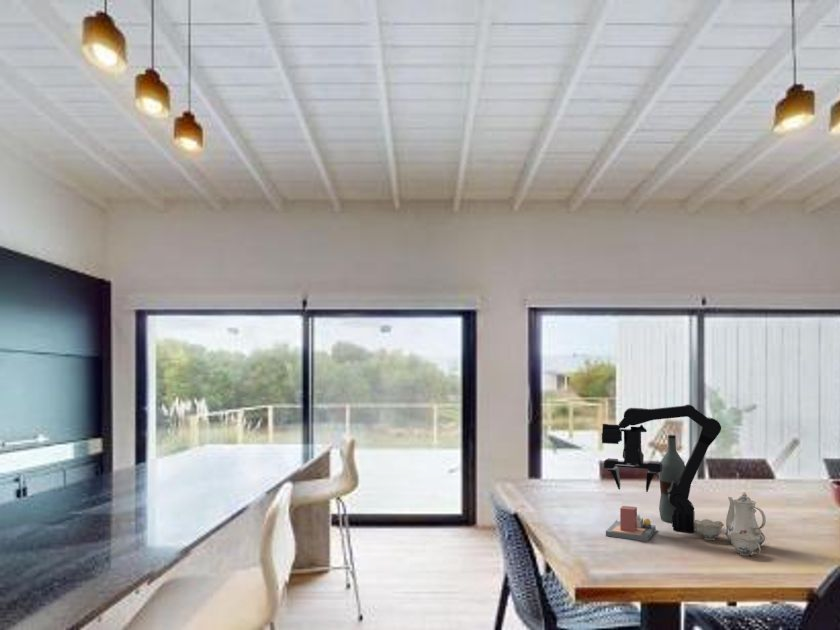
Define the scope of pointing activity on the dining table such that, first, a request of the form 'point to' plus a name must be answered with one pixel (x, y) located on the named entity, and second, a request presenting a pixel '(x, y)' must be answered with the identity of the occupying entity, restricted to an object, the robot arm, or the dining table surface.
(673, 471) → the bottle
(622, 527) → the red rectangular block
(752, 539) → the chinaware
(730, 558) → the dining table surface
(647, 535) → the panel
